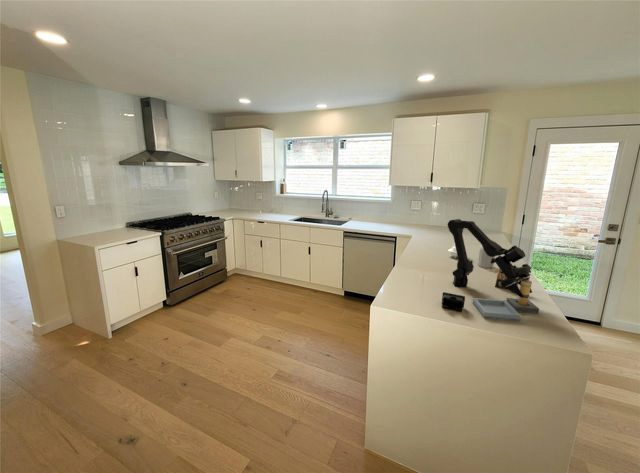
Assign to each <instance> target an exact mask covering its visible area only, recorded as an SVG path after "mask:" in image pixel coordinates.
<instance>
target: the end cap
mask: <svg viewBox="0 0 640 473" xmlns="http://www.w3.org/2000/svg"><path fill="white" fill-rule="evenodd" d="M465 301H466V296H465V295H460V294H455V293H451V292H446V291H443V292H442V297H441V309H443V310H447V311H451V312H457V313H463V309H464V308H465Z"/></svg>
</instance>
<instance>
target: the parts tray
mask: <svg viewBox="0 0 640 473" xmlns="http://www.w3.org/2000/svg"><path fill="white" fill-rule="evenodd" d="M472 305H473V306H474V307H475V309H476V311H478V312H479V314H480V315H481V316H482V318H483V319H487V320H488V319H489V320H498V321H499V320H501V321H511V322H521V316H522V315H521V314H520V312H517V311H516V310H515V309H514V308H513V307H512V306H511V305H510V304H509V303H508V302H507V301H506V300H503V299H492V298H491V299H489V298H477V297H472Z"/></svg>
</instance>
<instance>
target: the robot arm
mask: <svg viewBox="0 0 640 473" xmlns="http://www.w3.org/2000/svg"><path fill="white" fill-rule="evenodd" d="M447 227H448V228H447V229H448V230H449V232H450V233H451V234H452V237H453V240H454V243H455V247H456V251H457V256H458V257H457V256H456V257H457V262H456V269H455V270H453V271H452V272H451V273H452V276H453V281H452V284H453V285H454V287H456V288H468V282H469V279H468V276H469V275H470V274H471V273H472V272H474V269H475V266H474V264H473V260H469V258H468V255H467V254H468V253H467V250H466V249H467V248H466V247H465V246H466V245H465V241H464V237H463V233H464V230H465V229H467V230H468V232H470V234H471V235H473V237H474V238H475V239H476V240H477V241H478V243H480V245H482V246H483V249H484V251H485V252H486V254H487V255H488V256H489V257H495V258H492V260H491V264H492V263H494V264H496V265H497V267H498V269H499V268H500V270H501V274H502V273H503V274H504V275H505V276H506V278H507V279H506V280H504V281H502V282H501V284H500V285H501V286H502V287H503V288H504V287H506V286H507V287H506V288H505V289H504V290H507V289H508V290H507V291H509V292H511V293H513V294H515V295H517V297H519V296H520V297H521V298H522V297H524V296H523V294H522V292H521V291H520V286H521V280H529V281H530V278H531V274H530V273H532V267H531V266H530V265H529V264H528V263H523V264H522V265H521V266H518V267H517V265H515V264H514V265H513V263H516V262H518V261H520V260H522V259H524V258H525V257H526V254H525V251H524V250H523V249H522V248H519V247H518V246H517V245H512V246H511V247H510V248H509V249H507V248H504V247H502V246H501V245H500V244H498V243H497V242H496V241H494V240H492V239H490V237H488V236H487V234H486V233H485V232H484V231H483V230H482V229H481V228H480V227H479V226H478V225H476V222H475V221H472V220H462V219H460V218H455V219H450V220H448V222H447ZM465 248H466V249H465ZM516 281H518V282H516ZM532 293H533V291H532V287H531V288H530V293H529V294H532Z"/></svg>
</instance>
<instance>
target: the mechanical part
mask: <svg viewBox="0 0 640 473" xmlns="http://www.w3.org/2000/svg"><path fill="white" fill-rule="evenodd" d="M465 249H467V246H466V245H465ZM448 253H450V255H451V256H450V257H451V258H453V257H454V258H456V257H457V258H458V256H457V251H456V247H455V242H454V243H453V245H452V246H451V248H449V249H448Z"/></svg>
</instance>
